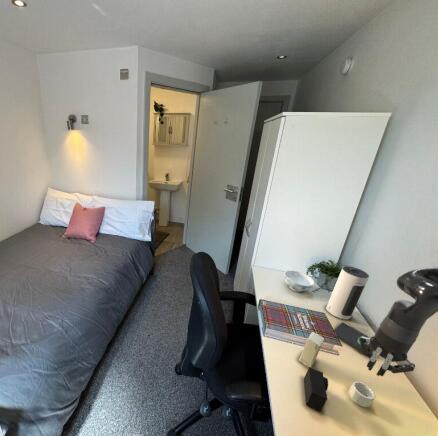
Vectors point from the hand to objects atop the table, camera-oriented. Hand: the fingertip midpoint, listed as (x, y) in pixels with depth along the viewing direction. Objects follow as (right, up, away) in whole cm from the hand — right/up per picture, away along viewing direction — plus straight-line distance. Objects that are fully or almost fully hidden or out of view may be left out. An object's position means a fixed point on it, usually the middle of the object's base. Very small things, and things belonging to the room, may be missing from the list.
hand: (374, 371), depth 76 cm
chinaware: (+14, +8, +63) cm, 65 cm away
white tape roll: (-1, -13, +5) cm, 14 cm away
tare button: (+19, -4, +24) cm, 31 cm away
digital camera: (-16, -13, +5) cm, 21 cm away
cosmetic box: (-10, -8, +18) cm, 22 cm away
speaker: (+25, +1, +45) cm, 52 cm away
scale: (+20, -5, +30) cm, 36 cm away
